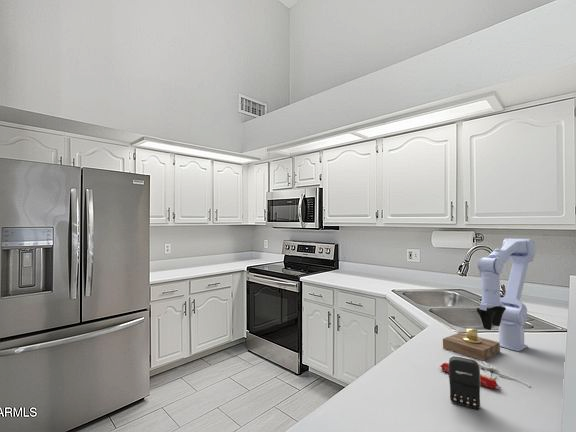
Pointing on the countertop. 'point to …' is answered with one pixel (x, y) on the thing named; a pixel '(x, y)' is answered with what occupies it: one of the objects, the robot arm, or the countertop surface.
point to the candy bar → (483, 379)
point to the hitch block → (471, 346)
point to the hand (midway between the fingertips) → (491, 327)
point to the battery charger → (464, 381)
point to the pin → (471, 336)
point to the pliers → (489, 369)
